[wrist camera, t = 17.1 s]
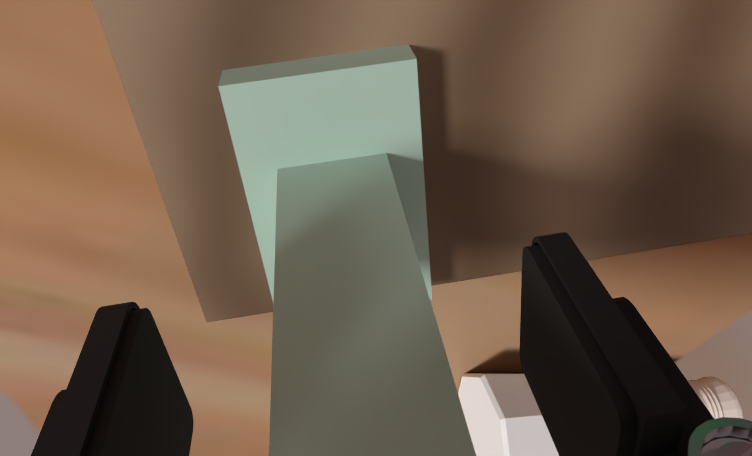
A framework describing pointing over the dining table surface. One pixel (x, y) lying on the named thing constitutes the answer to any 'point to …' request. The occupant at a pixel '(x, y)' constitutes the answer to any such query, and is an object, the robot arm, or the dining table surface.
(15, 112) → the dining table surface
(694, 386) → the pepper shaker
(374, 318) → the mint t-shaped block
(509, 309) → the dining table surface
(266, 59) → the board
